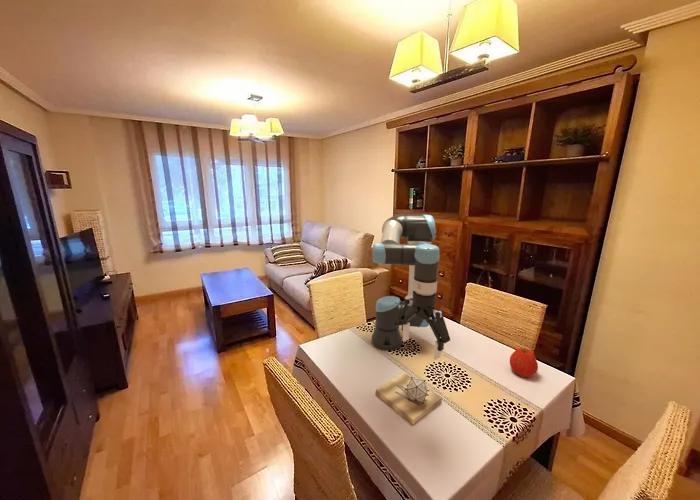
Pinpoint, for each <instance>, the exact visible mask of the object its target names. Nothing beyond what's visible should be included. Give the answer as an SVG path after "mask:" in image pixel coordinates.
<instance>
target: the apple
mask: <svg viewBox="0 0 700 500" xmlns="http://www.w3.org/2000/svg"><path fill="white" fill-rule="evenodd" d="M509 364H510V368H511V370H512V371H513V372H514V373H515V374H517V376H520V377H522V378H523V377H524V378H532V377H534V376H535V375H536V374H537V373H538V370H539V365H538V362H537V358H536V356H535V354H534V353H533V352H532V351H531V350H530V349H528V348H525V347H523V348H522V347H521V348H516V350H514V351H513V352H512V354H510V357H509Z"/></svg>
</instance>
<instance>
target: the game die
mask: <svg viewBox="0 0 700 500" xmlns="http://www.w3.org/2000/svg"><path fill="white" fill-rule="evenodd" d="M410 377H411V381H410V383H409V385H406V386H408V387H407V389H404V390H407V393H408V395H409V398H410V399H412V400H415V402H416V401H420V402H422V404H424V402H423V401H424V399H425V397H426V396H429V395H428V394H427V392H428V391H430V390H431V389H430V390H427V388H428V387H427V385H426V382H427V380H426V379H424V380H420V378H419V379H417V378H416V379H415V378H413V376H410ZM412 378H413V379H412ZM410 399H409V401H410Z"/></svg>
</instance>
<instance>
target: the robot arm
mask: <svg viewBox="0 0 700 500" xmlns="http://www.w3.org/2000/svg"><path fill="white" fill-rule="evenodd" d="M436 232H437V231H436V222H435V218H434V217H433V215H431V214H422V213H421V214H414V213H413V214H410V213H409V214H405V213H401V214H396V215H393V216H391V217H390V218H387V219H386V220H385V221H384V222H383V224H382V228H381V234H382V236H381V239H380V242H375V243H374V244H372V245H373V246H372V254H371V255H372V257H371V258H372V262H373V263H375V264H381V265H398V266H399V265H403V266H408V289H407V295H406V296H405V297H404V300H401V299H400V297H398V296H396V295H386V296H382V297H380V298H379V299H378V300H377V301H376V302H375V308H374V309H375V310H374V311H375V327H374V330H373V333H372V335H371V343H372V345H373V346H374V347H375V348H377V349H379V350H384V351H393V350H397V349H399V348H400V347H402V343H403V342H406V341H408V340H409V339H410V330H411V329H410V328H411V327H413V328H414V327H416V328H427V327H430V329H431V331H432V334H433V335H434V337H435V339H436V340H434V341H435V342H434V351H433V359H434V360H435V361H436V360H439V359H440V358H441V357H442V351H443V350H444V348H445V347H444V346H445V344H447V343H449V342H450V341H451V337H450V334H449V331H448V329H447V324H446V321H445V319H444V310H441V309H440V310H437V309H436V307H435V305H436V300H437V291H438V273H439V261H440V257H441V256H440V248H439V246H437V245H435V244H432V242H433V240H435V239H436V234H437V233H436ZM400 238H401V239H407V240H406V241H407V242H406V243H403V244H402V243H400V240H401V239H400ZM400 326H401V331H402V336H401V332H400Z"/></svg>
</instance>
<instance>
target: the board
mask: <svg viewBox="0 0 700 500" xmlns="http://www.w3.org/2000/svg"><path fill="white" fill-rule="evenodd" d="M411 377H412V376H410V375H409V374H407V373H406V372H402V373H401V374H398V375H397V376H395V377H394V378H391V379H390V380H389V381H387V382H385V383H384V384H382V385H380V386H379V387H376V389H375V395H376V396H378V397H379V398H380V399H381V400H383V402H385V403H386V404H388V406H390V407H391V408H392V409H393V410H395V411H396V413H398V414H399V415H401V416H402V417H403V418H404V419H405V420H407V421H408V422H409V423H410V424H411V425H415V424H416V423H418V422H419V421H420V420H422V418H424V416H427V414H428V413H430V412H432V410H433V409H435V408H436V407H437V406H439V405H440V404H441V403H442V400H443V397H442V396H440V395H439V394H437V393H435V392H434V391H433V390H432V389H429V388H428V387H427V390H430V391H428V392H427V394H428V395H429V396H426V397H425V399H424V401H423V402H424V404H422V402H420V401H416V402H415V400H412V399H410V398H409V395H408V393H407V390H404V389H407V387H408V386H406V385H409V383H410V381H411ZM412 379H414V377H412ZM409 399H410V401H409Z"/></svg>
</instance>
